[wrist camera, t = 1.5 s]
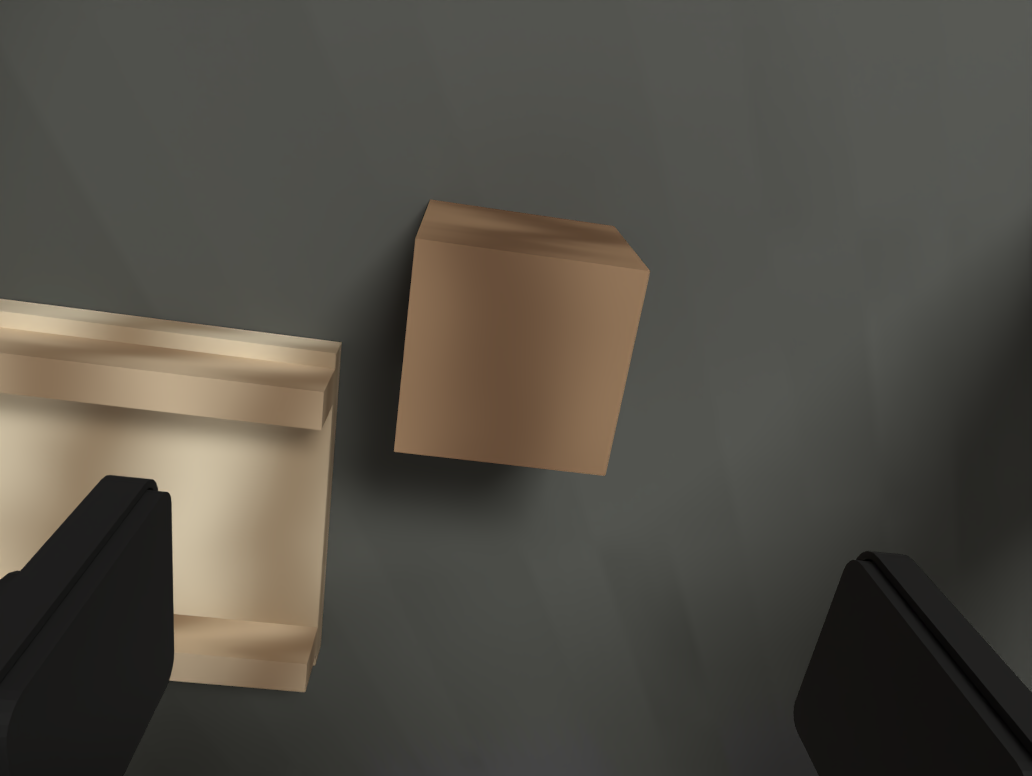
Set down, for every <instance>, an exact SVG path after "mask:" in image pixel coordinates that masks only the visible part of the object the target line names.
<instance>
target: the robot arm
mask: <svg viewBox="0 0 1032 776" xmlns="http://www.w3.org/2000/svg"><path fill="white" fill-rule="evenodd" d="M173 663H174V607H173V550H172V502H171V496H170V494H169V493H168V492H163V491H158V486H157V483H156V482H155V481H154V480H153V479H145V478H136V477H126V476H116V475H106V476H105V477H104V478H102V479H101V480H100V481H99V483H98V484H97V485H96V486H95V487H94V488H93V489H92V490H91V492H90V493H89V494H88V495H87V496H86V497H85V498H84V500H83V501H82V502H81V503H80V504H79V505H78V506H77V507H76V509H75V510H74V511H73V512H72V513H71V514H70V515H69V516H68V518H67V519H66V520H65V521H64V522H63V523H62V524H61V525H60V527H59V528H58V529H57V530H56V531H55V532H54V533H53V534H52V536H51V537H50V538H49V539H48V540H47V541H46V542H45V543H44V545H43V546H42V547H41V548H40V549H39V550H38V551H37V553H36V554H35V555H34V556H33V557H32V558H31V559H30V560H29V562H28V563H27V564H26V565H25V566H24V567H23V568H22V569H21V571H13V572H10V573H8V574H6V575H5V576H4V577H3V578H2V579H0V776H123V775H124V773H125V771H126V769H127V767H128V765H129V763H130V761H131V759H132V757H133V755H134V753H135V751H136V748H137V746H138V744H139V742H140V740H141V738H142V736H143V734H144V732H145V730H146V728H147V726H148V724H149V722H150V720H151V718H152V716H153V714H154V711H155V709H156V707H157V705H158V703H159V701H160V699H161V697H162V695H163V693H164V691H165V689H166V687H167V684H168V682H169V679H170V676H171V673H172V668H173ZM794 722H795V727H796V729H797V732H798V734H799V736H800V738H801V740H802V742H803V744H804V746H805V748H806V750H807V752H808V754H809V756H810V758H811V760H812V762H813V764H814V767H815V769H816V771H817V773H818V775H819V776H1032V693H1031V691H1030V690H1029V689H1028V688H1027V687H1026V686H1025V685H1024V684H1023V683H1022V681H1021V680H1020V679H1019V678H1018V677H1017V676H1016V675H1015V674H1014V672H1013V671H1012V670H1011V669H1010V668H1009V667H1008V666H1007V665H1006V664H1005V662H1004V661H1003V660H1002V659H1001V658H1000V657H999V656H998V655H997V653H996V652H995V651H994V650H993V649H992V648H991V647H990V646H989V645H988V643H987V642H986V641H985V640H984V639H983V638H982V637H981V636H980V635H979V633H978V632H977V631H976V630H975V629H974V628H973V627H972V626H971V624H970V623H969V622H968V621H967V620H966V619H965V618H964V617H963V616H962V614H961V613H960V612H959V611H958V610H957V609H956V608H955V607H954V605H953V604H952V603H951V602H950V601H949V600H948V599H947V598H946V597H945V595H944V594H943V593H942V592H941V591H940V590H939V589H938V588H937V586H936V585H935V584H934V583H933V582H932V581H931V580H930V579H929V578H928V576H927V575H926V574H925V573H924V572H923V571H922V570H921V569H920V568H919V566H918V565H917V564H916V563H915V562H914V561H913V560H912V559H911V558H910V557H908V556H906V555H901V554H891V553H881V552H871V551H866V552H863V553H861V554H860V555H859V556H858V558H857V559H856V560H852V561H850V562H849V563H848V564H847V565H846V567H845V569H844V571H843V574H842V576H841V579H840V582H839V585H838V587H837V590H836V593H835V595H834V598H833V601H832V603H831V606H830V609H829V612H828V614H827V617H826V620H825V622H824V625H823V628H822V631H821V633H820V636H819V639H818V641H817V644H816V647H815V650H814V652H813V655H812V658H811V660H810V663H809V666H808V669H807V671H806V674H805V677H804V679H803V682H802V685H801V687H800V690H799V693H798V696H797V698H796V701H795V705H794Z"/></svg>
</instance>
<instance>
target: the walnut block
mask: <svg viewBox="0 0 1032 776" xmlns="http://www.w3.org/2000/svg"><path fill="white" fill-rule="evenodd" d="M649 274H650V270H649V269H648V268H647V267H646V265H645V264H644V263H643V262H642V260H641V259H640V258H639V257H638V255H637V254H636V253H635V252H634V250H633V249H632V248H631V247H630V245H629V244H628V243H627V242H626V240H625V239H624V238H623V237H622V236H621V234H620V233H619V232H618V231H617V229H616V228H615V227H614V226H609V225H602V224H595V223H588V222H581V221H574V220H567V219H560V218H553V217H547V216H540V215H533V214H526V213H519V212H512V211H505V210H498V209H491V208H484V207H478V206H471V205H464V204H457V203H450V202H443V201H436V200H430V201H429V204H428V207H427V209H426V212H425V215H424V217H423V220H422V222H421V225H420V228H419V230H418V233H417V236H416V238H415V248H414V258H413V267H412V277H411V287H410V297H409V307H408V317H407V327H406V337H405V347H404V357H403V366H402V376H401V386H400V396H399V406H398V416H397V426H396V436H395V446H394V452H401V453H410V454H418V455H427V456H436V457H445V458H454V459H462V460H471V461H480V462H489V463H498V464H506V465H515V466H524V467H533V468H541V469H550V470H559V471H568V472H577V473H585V474H594V475H603V476H605V474H606V470H607V465H608V461H609V456H610V452H611V447H612V442H613V438H614V433H615V429H616V424H617V420H618V415H619V411H620V406H621V401H622V397H623V392H624V388H625V383H626V379H627V374H628V370H629V365H630V360H631V356H632V351H633V347H634V342H635V338H636V333H637V329H638V324H639V319H640V315H641V310H642V306H643V301H644V297H645V292H646V288H647V283H648V278H649Z"/></svg>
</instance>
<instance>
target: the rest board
mask: <svg viewBox="0 0 1032 776" xmlns="http://www.w3.org/2000/svg"><path fill="white" fill-rule="evenodd" d="M341 346H342V342H334V341H327V340H319V339H311V338H303V337H295V336H288V335H280V334H272V333H264V332H256V331H248V330H241V329H233V328H225V327H217V326H209V325H201V324H194V323H186V322H178V321H170V320H162V319H155V318H147V317H139V316H131V315H123V314H115V313H108V312H100V311H92V310H84V309H76V308H69V307H61V306H53V305H45V304H37V303H29V302H22V301H14V300H6V299H0V579H2V578H3V577H4V576H5V575H6V574H8V573H10V572H13V571H21V569H22V568H23V567H24V566H25V565H26V564H27V563H28V562H29V560H30V559H31V558H32V557H33V556H34V555H35V554H36V553H37V551H38V550H39V549H40V548H41V547H42V546H43V545H44V543H45V542H46V541H47V540H48V539H49V538H50V537H51V536H52V534H53V533H54V532H55V531H56V530H57V529H58V528H59V527H60V525H61V524H62V523H63V522H64V521H65V520H66V519H67V518H68V516H69V515H70V514H71V513H72V512H73V511H74V510H75V509H76V507H77V506H78V505H79V504H80V503H81V502H82V501H83V500H84V498H85V497H86V496H87V495H88V494H89V493H90V492H91V490H92V489H93V488H94V487H95V486H96V485H97V484H98V483H99V481H100V480H101V479H102V478H104V477H105V476H106V475H116V476H126V477H136V478H145V479H153V480H154V481H155V482H156V483H157V486H158V491H163V492H168V493H169V494H170V496H171V502H172V550H173V607H174V663H173V668H172V673H171V676H170V679H169V681H181V682H192V683H204V684H216V685H227V686H239V687H250V688H262V689H273V690H285V691H297V692H305V691H306V688H307V684H308V681H309V677H310V674H311V670H312V667H313V665H315V664H316V661H317V657H318V654H319V650H320V646H321V633H322V619H323V604H324V590H325V576H326V561H327V547H328V533H329V518H330V504H331V489H332V475H333V461H334V446H335V432H336V418H337V403H338V389H339V374H340V360H341Z"/></svg>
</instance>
